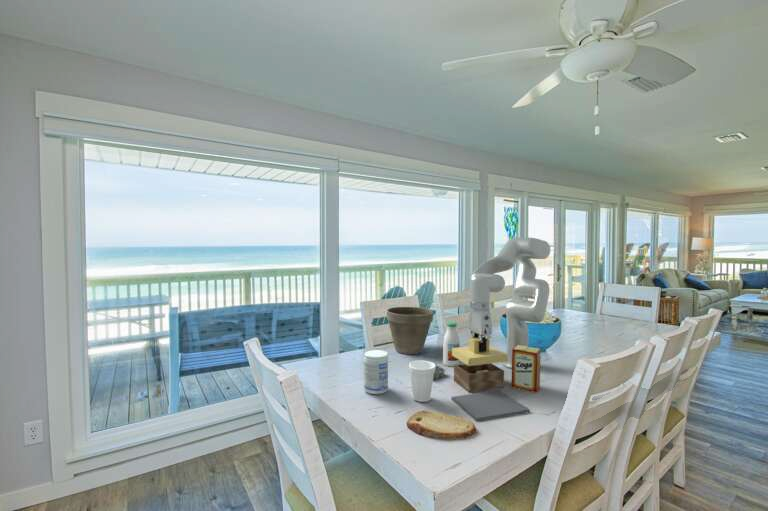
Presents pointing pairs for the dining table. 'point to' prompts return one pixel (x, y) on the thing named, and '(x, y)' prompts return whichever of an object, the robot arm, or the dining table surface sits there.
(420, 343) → the plant pot
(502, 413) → the mat
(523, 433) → the dining table surface
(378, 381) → the supplement tub
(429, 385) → the cup
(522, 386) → the baking soda box
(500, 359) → the lid
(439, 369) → the egg carton
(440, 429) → the slice of bread
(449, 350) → the milk bottle
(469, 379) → the box
